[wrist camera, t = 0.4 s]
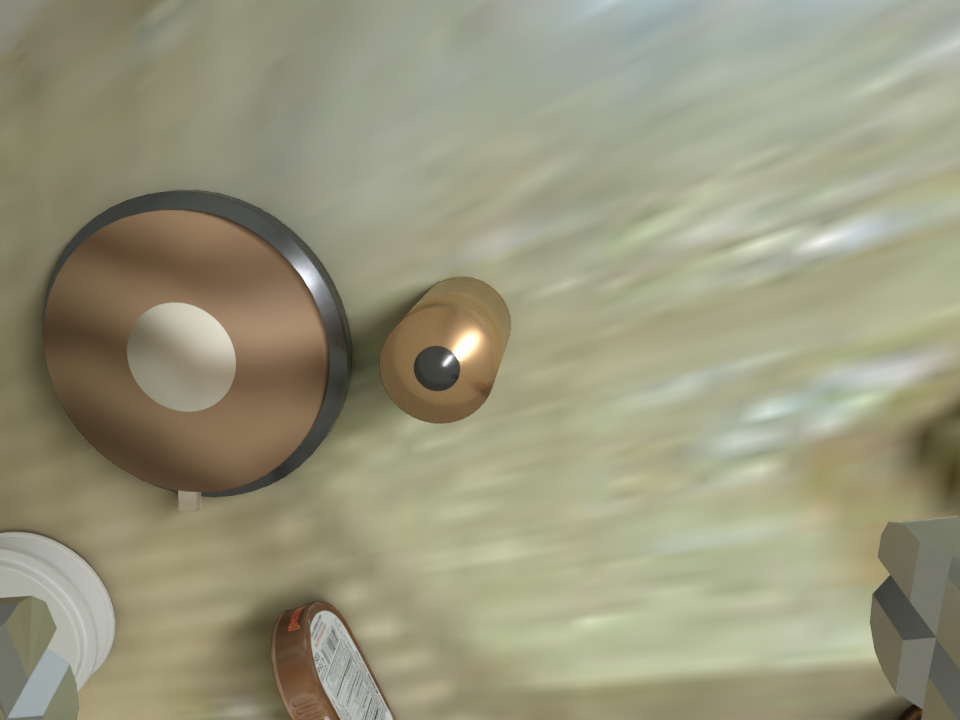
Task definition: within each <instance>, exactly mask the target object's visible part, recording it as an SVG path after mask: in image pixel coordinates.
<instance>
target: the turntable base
mask: <svg viewBox="0 0 960 720" xmlns="http://www.w3.org/2000/svg"><path fill="white" fill-rule="evenodd" d="M163 209H190V210H197V211H204V212H208V213H212V214H215V215H219V216H222V217H225V218H228V219H230V220H232V221H235V222H237V223H239V224H241V225H243V226H245V227H247V228H248V229H250V230H252V231H254V232H255V233H257V234H259V235H260V236H261V237H263V238H264V239H265V240H267V241H268V242H269V243H271V244H272V245H273V246H274V247H276V248H277V249H278V250H279V251H280V252H281V253H282V254H283V255H284V256H285V257H286V258H287V259H288V260H289V261H290V263H291V264H292V265H293V266H294V268H295V269H296V270H297V271H298V273H299V274H300V275H301V276H302V278H303V280H304V281H305V283H306V284H307V286H308V288H309V289H310V291H311V293H312V295H313V297H314V299H315V301H316V303H317V306H318V308H319V310H320V313H321V316H322V319H323V322H324V325H325V329H326V334H327V339H328V345H329V360H330V369H329V380H328V387H327V391H326V395H325V400H324V403H323V405H322V408H321V411H320V413H319V416H318V418H317V420H316V421H315V423H314V425H313V427H312V429H311V430H310V432H309V433H308V435H307V436H306V437H305V438H304V440H303V441H302V442H301V444H300V445H299V446H298V447H297V448H296V450H295V451H294V452H293V453H292V454H291V455H290V456H289V457H288V458H287V459H286V460H285V461H284V462H283V463H282V464H280V465H279V466H278V467H276V468H275V469H274V470H272V471H271V472H269V473H268V474H266V475H265V476H263V477H261V478H259V479H257V480H255V481H253V482H251V483H248V484H245V485H242V486H239V487H237V488H232V489H227V490H223V491H214V492H201V496H207V497H220V496H233V495H238V494H243V493H247V492H252V491H255V490H257V489H260V488H263V487H266V486H269V485H270V484H272V483H274V482H276V481H278V480H280V479H282V478H284V477H285V476H287V475H288V474H290V473H291V472H292V471H294V470H295V469H296V468H298V467H299V466H300V465H301V464H302V463H303V462H304V461H305V460H307V459H308V458H309V457H310V456H311V455H312V454H313V452H314V451H315V450H316V449H317V447H318V446H319V445H320V444H321V442H322V441H323V440H324V438H325V437H326V436H327V435H328V433H329V432H330V431H331V429H332V427H333V425H334V423H335V422H336V420H337V418H338V416H339V414H340V412H341V409H342V407H343V404H344V401H345V399H346V395H347V391H348V387H349V382H350V376H351V365H352V348H351V336H350V331H349V325H348V320H347V316H346V313H345V310H344V307H343V303H342V300H341V298H340V296H339V294H338V291H337V289H336V287H335V285H334V283H333V281H332V279H331V277H330V276H329V274H328V272H327V271H326V269H325V268H324V266H323V264H322V263H321V262H320V260H319V259H318V258H317V256H316V255H315V254H314V253H313V251H312V250H311V249H310V248H309V246H308V245H307V244H306V243H305V242H304V241H303V240H302V239H301V238H300V237H299V236H298V235H297V234H295V233H294V232H293V231H292V230H291V229H290V228H288V227H287V226H286V225H284V224H283V223H282V222H281V221H279V220H278V219H277V218H275V217H273V216H272V215H270V214H268V213H267V212H265V211H263V210H262V209H260V208H258V207H256V206H254V205H251V204H249V203H247V202H244V201H242V200H240V199H237V198H233V197H230V196H227V195H223V194H220V193H214V192H207V191H200V190H174V191H167V192H159V193H153V194H147V195H144V196H140V197H137V198H133V199H130V200H127V201H124V202H122V203H120V204H118V205H116V206H113V207H111V208H109V209H108V210H106V211H105V212H103V213H101V214H100V215H98V216H97V217H95V218H94V219H93V220H91V221H90V222H89V223H88V224H87V225H86V226H85V227H84V228H83V229H81V230H80V231H79V232H78V234H77V235H76V236H75V237H74V238H73V240H72V241H71V242H70V243H69V244H68V246H67V247H66V249H65V250H64V252H63V254H62V255H61V257H60V259H59V260H58V262H57V264H56V267H55V269H54V271H53V274H52V276H51V279H50V282H49V285H48V289H47V293H46V297H45V303H44V312H43V341H44V319H45V311H46V306H47V302H48V298H49V295H50V291H51V289H52V286H53V284H54V282H55V279H56V277H57V275H58V273H59V271H60V270H61V268H62V267H63V265H64V263H65V262H66V260H67V259H68V258H69V257H70V255H71V254H72V253H73V252H74V251H75V249H76V248H77V247H78V246H79V245H80V244H81V243H83V242H84V241H85V240H86V239H87V238H88V237H89V236H90V235H92V234H94V233H95V232H97V231H98V230H100V229H101V228H103V227H104V226H106V225H108V224H111V223H113V222H115V221H117V220H120V219H122V218H125V217H129V216H133V215H136V214H140V213H144V212H149V211H156V210H163ZM137 478H138V477H137ZM139 479H140V478H139ZM141 480H142V479H141ZM143 481H145V480H143ZM146 482H147V481H146ZM148 483H149V482H148ZM150 484H152V483H150ZM152 485H155V484H152ZM155 486H157V487H160V488H163V489H166V490H170V491H173V492H176V493H178V490H174V489H169V488H165V487H162V486H158V485H155Z"/></svg>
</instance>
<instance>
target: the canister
mask: <svg viewBox="0 0 960 720" xmlns="http://www.w3.org/2000/svg"><path fill="white" fill-rule="evenodd" d="M510 330H511V320H510V314H509V310H508V308H507V305H506V303H505V302H504V300H503V298H502V297H501V296H500V294H499V293H498V292H497V291H496V290H495V289H494V288H492V287H491V286H490V285H488V284H487V283H485V282H483V281H480V280H478V279H475V278H470V277H453V278H449V279H446V280H443V281H441V282H439V283H437V284H436V285H434V286H433V287H432V288H431V289H430V290H428V291H427V293H426V294H425V295H424V296H423V297H422V298H421V299H420V300H419V301H418V303H417V304H416V305H415V306H414V307H413V308H412V309H411V310H410V311H409V313H408V314H407V315H406V316H405V317H404V318H403V319H402V320H401V321H400V323H399V324H398V325H397V326H396V327H395V328H394V329H393V330H392V332H391V333H390V334H389V336H388V337H387V339H386V341H385V343H384V346H383V348H382V352H381V356H380V373H381V378H382V382H383V385H384V387H385V389H386V391H387V393H388V395H389V396H390V398H391V399H392V400H393V402H394V403H395V404H396V405H397V406H398V407H399V408H400V409H401V410H403V411H404V412H405V413H407V414H409V415H410V416H412V417H414V418H416V419H419V420H422V421H425V422H430V423H440V424H442V423H451V422H455V421H458V420H461V419H464V418H466V417H468V416H470V415H471V414H472V413H474V412H475V411H476V410H477V409H479V408H480V407H481V406H482V404H483V403H484V402H485V401H486V399H487V397H488V396H489V394H490V392H491V389H492V387H493V384H494V381H495V378H496V375H497V372H498V369H499V366H500V363H501V360H502V357H503V354H504V351H505V348H506V345H507V343H508V339H509V336H510Z"/></svg>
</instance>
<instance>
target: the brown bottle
mask: <svg viewBox="0 0 960 720" xmlns="http://www.w3.org/2000/svg"><path fill="white" fill-rule="evenodd" d="M922 711H923V709H921V708H920V707H918V706H916V705H913V706H912V707H911V708H909V709H908V710H907V711H906V712H905V713H904V714H903V715H902V716H901V717H900V718H899V719H898V720H921V717H922Z"/></svg>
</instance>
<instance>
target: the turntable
mask: <svg viewBox="0 0 960 720" xmlns="http://www.w3.org/2000/svg"><path fill="white" fill-rule="evenodd" d="M44 349H45V356H46V363H47V367H48V371H49V374H50V378H51V381H52V384H53V386H54V389H55V391H56V394H57V396H58V399H59V400H60V402H61V404H62V406H63V408H64V410H65V412H66V413H67V415H68V416H69V418H70V419H71V421H72V422H73V424H74V425H75V427H76V428H77V429H78V431H79V432H80V433H81V434H82V435H83V436H84V437H85V439H86V440H87V441H88V442H89V443H90V444H91V445H92V446H93V447H94V448H95V449H96V450H97V451H99V452H100V453H101V454H102V455H103V456H104V457H105V458H107V459H108V460H110V461H111V462H112V463H114V464H115V465H116V466H118V467H119V468H121V469H123V470H125V471H126V472H128V473H130V474H132V475H133V476H135V477H138V478H140V479H142V480H145V481H147V482H149V483H152V484H155V485H158V486H162V487H165V488H169V489H174V490H178V500H179V510H181V511H190V512H197V511H198V510H199V509H200V508H201V507H202V502H201V492H214V491H223V490H227V489H232V488H237V487H239V486H242V485H245V484H248V483H251V482H253V481H255V480H257V479H259V478H261V477H263V476H265V475H266V474H268V473H269V472H271V471H272V470H274V469H275V468H276V467H278V466H279V465H280V464H282V463H283V462H284V461H285V460H286V459H287V458H288V457H289V456H290V455H291V454H292V453H293V452H294V451H295V450H296V448H297V447H298V446H299V445H300V444H301V442H302V441H303V440H304V438H305V437H306V436H307V435H308V433H309V432H310V430H311V429H312V427H313V425H314V423H315V421H316V420H317V418H318V416H319V413H320V411H321V408H322V405H323V403H324V400H325V395H326V391H327V387H328V380H329V369H330V360H329V345H328V339H327V334H326V329H325V325H324V322H323V319H322V316H321V313H320V310H319V308H318V306H317V303H316V301H315V299H314V297H313V295H312V293H311V291H310V289H309V288H308V286H307V284H306V283H305V281H304V280H303V278H302V276H301V275H300V274H299V273H298V271H297V270H296V269H295V268H294V266H293V265H292V264H291V263H290V261H289V260H288V259H287V258H286V257H285V256H284V255H283V254H282V253H281V252H280V251H279V250H278V249H277V248H276V247H274V246H273V245H272V244H271V243H269V242H268V241H267V240H265V239H264V238H263V237H261V236H260V235H259V234H257V233H255V232H254V231H252V230H250V229H248V228H247V227H245V226H243V225H241V224H239V223H237V222H235V221H232V220H230V219H228V218H225V217H222V216H219V215H215V214H212V213H208V212H204V211H197V210H190V209H163V210H156V211H149V212H144V213H140V214H136V215H133V216H129V217H125V218H122V219H120V220H117V221H115V222H113V223H111V224H108V225H106V226H104V227H103V228H101V229H100V230H98V231H97V232H95V233H94V234H92V235H90V236H89V237H88V238H87V239H86V240H85V241H84V242H83V243H81V244H80V245H79V246H78V247H77V248H76V249H75V251H74V252H73V253H72V254H71V255H70V257H69V258H68V259H67V260H66V262H65V263H64V265H63V267H62V268H61V270H60V271H59V273H58V275H57V277H56V279H55V282H54V284H53V286H52V289H51V291H50V295H49V298H48V302H47V306H46V311H45V319H44Z"/></svg>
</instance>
